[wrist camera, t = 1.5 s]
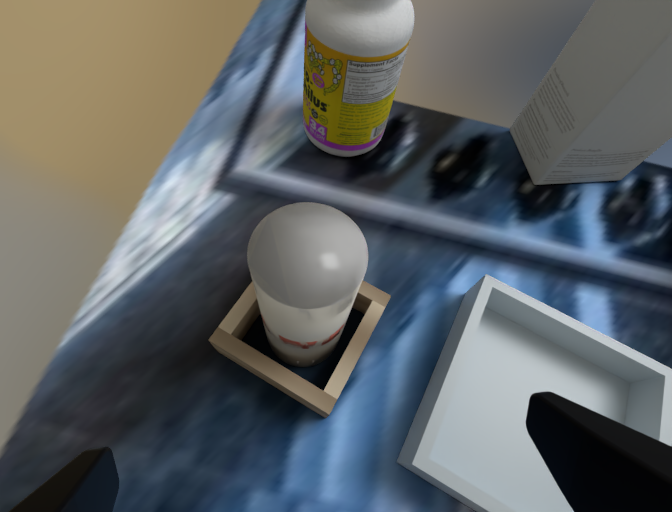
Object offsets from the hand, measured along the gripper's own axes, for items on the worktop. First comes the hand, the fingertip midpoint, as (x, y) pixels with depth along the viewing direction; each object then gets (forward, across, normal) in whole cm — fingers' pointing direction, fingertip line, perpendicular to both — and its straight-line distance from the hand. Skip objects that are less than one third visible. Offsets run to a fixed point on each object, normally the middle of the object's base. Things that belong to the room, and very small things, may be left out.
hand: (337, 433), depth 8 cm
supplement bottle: (+26, -5, -6) cm, 27 cm away
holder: (+14, 0, +5) cm, 15 cm away
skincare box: (+23, -23, -4) cm, 33 cm away
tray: (+9, -12, +10) cm, 18 cm away
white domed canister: (+14, 0, +5) cm, 15 cm away
